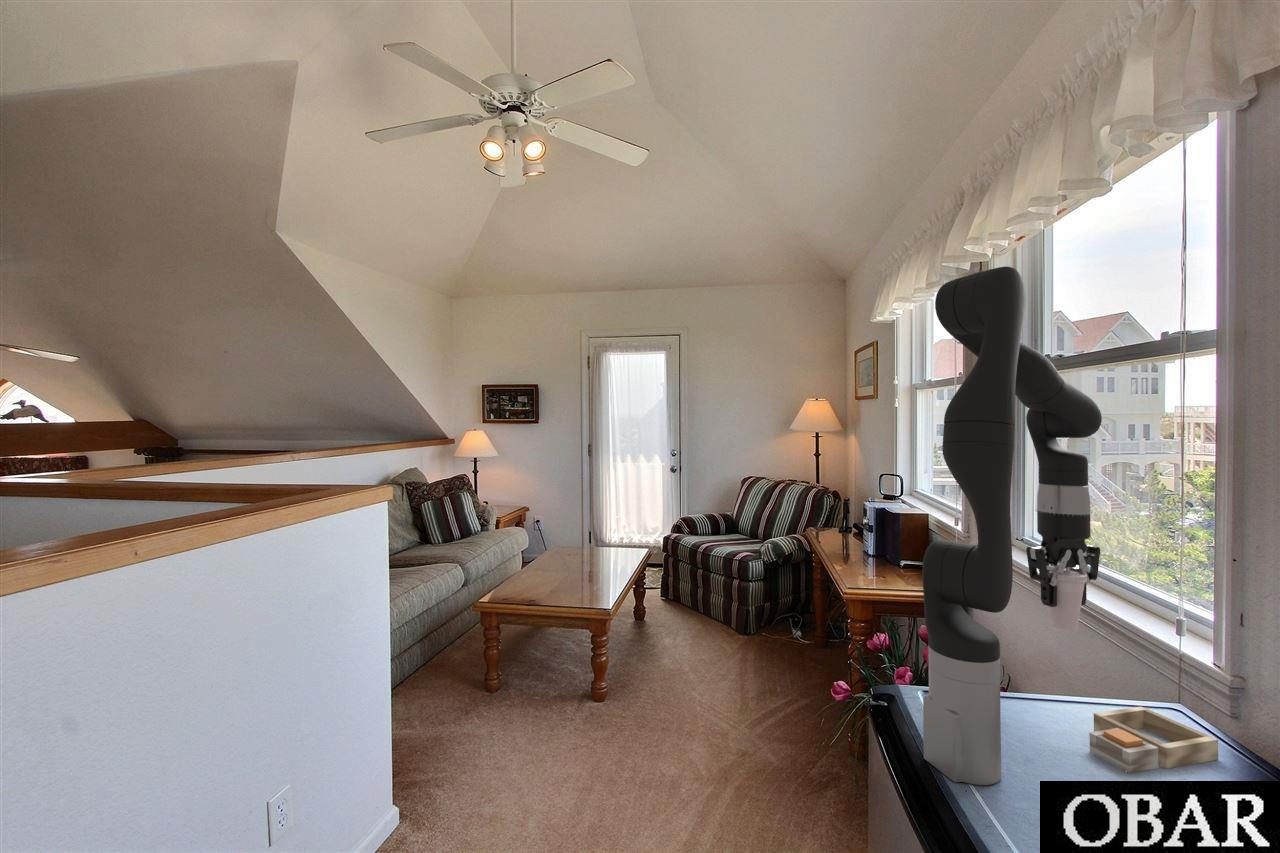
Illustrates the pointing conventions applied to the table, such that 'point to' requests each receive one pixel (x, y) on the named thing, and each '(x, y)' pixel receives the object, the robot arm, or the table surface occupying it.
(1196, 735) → the station
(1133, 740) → the button
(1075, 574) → the smoothie
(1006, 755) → the table surface
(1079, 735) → the table surface
